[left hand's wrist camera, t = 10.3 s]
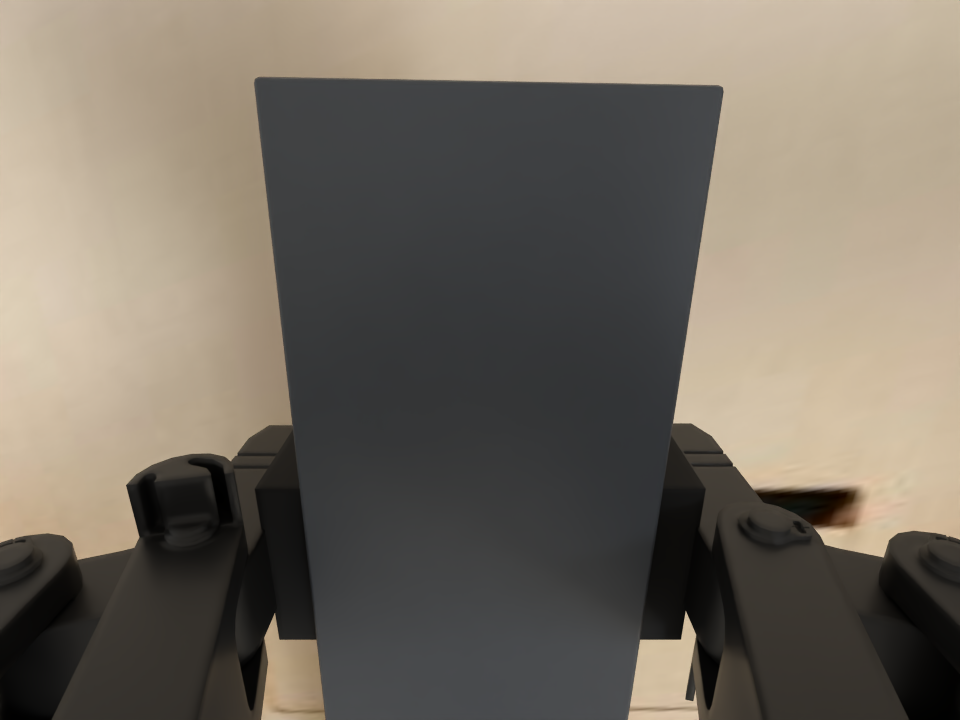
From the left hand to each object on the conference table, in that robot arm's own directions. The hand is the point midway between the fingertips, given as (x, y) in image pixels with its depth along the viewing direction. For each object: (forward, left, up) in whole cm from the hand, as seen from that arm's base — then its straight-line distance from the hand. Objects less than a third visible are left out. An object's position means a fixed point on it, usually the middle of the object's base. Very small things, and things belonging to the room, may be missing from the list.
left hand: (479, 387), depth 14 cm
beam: (+16, +11, -1) cm, 20 cm away
